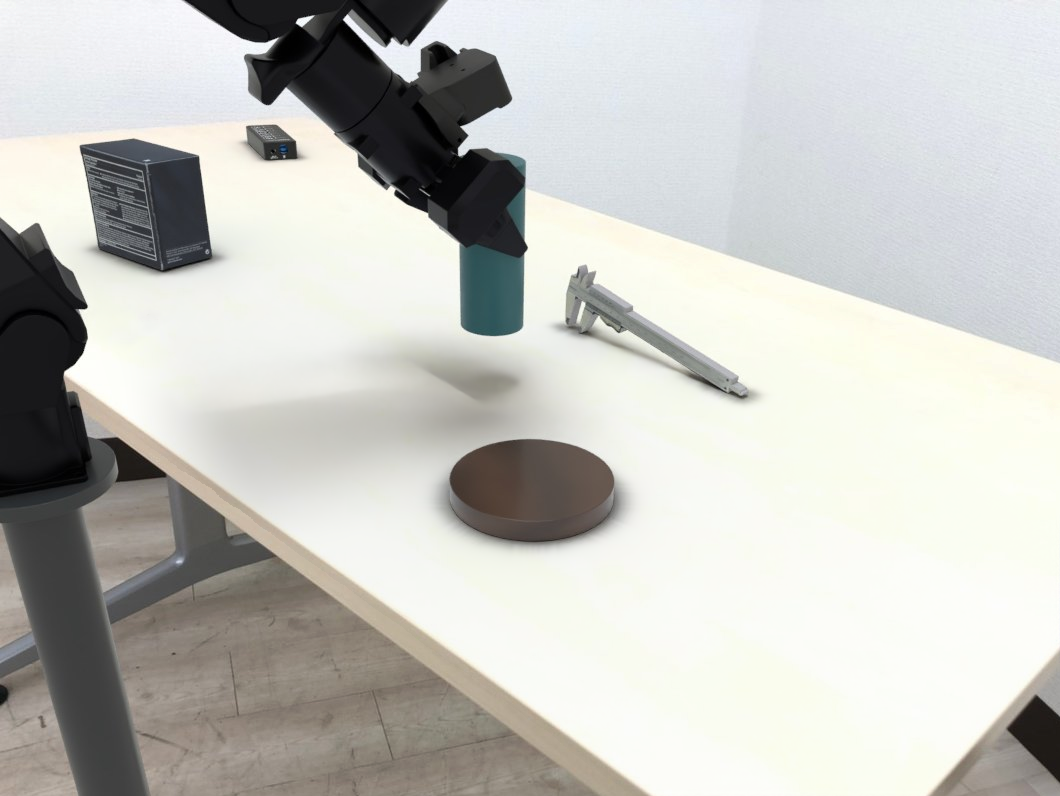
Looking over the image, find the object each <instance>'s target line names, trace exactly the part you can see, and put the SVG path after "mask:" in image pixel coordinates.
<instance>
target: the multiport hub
mask: <svg viewBox="0 0 1060 796" xmlns="http://www.w3.org/2000/svg"><path fill="white" fill-rule="evenodd" d="M245 132H246V139H247V144H248V145H249V146H250V147H252V148H253V150H254V151H256V153H258V154H259V156H261V157H262V158H263V160H265V161H275V160H291V159H292V160H295V159H298V158H299V157H298V148H297V141H296V140H295V139H294V138H293V137H292V136H291V135H289V133H287V132H286V131H285V130H284V129H283V128H281V127H280V126H279V125H278V124H251V125H246V126H245Z"/></svg>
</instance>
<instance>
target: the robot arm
mask: <svg viewBox="0 0 1060 796" xmlns="http://www.w3.org/2000/svg"><path fill="white" fill-rule="evenodd" d="M181 1H182V2H183V3H185V4H186V5H188V6H189V7H190V8H192V9H193V10H195V11H196V12H197V13H199V14H201V15H202V16H203V17H204V18H207V19H208V20H209V21H211V22H213V24H216V25H218V26H219V27H221V28H222V29H224V30H226V31H228V32H229V33H231V34H233V35H234V36H236V37H237V38H239V39H241V40H244V41H247V42H251V43H258V44H267V43H269V42H271V41H274V40H276V41H275V42H274V43H273V44H272V45H271V46H270V48H268V50H267V51H266V52H264V53H263V52H262V53H258V54H257V53H256V54H254V53H246V54H244V55H243V61H244V63H245V65H246V70H247V91H248V94H249V95H251V96H252V97H253V98H255V99H256V100H257V101H258V102H260V103H261V104H262V105H264V106H271V105H272V104H274V102H275V101H276V100H277V99H278V97H280V95H281V94H282V93H283V92H284V91H285V90H286V89H287V90H288V91H289V92H290V93H291V94H292V95H294V97H296V98H297V99H298V100H299V101H300V102H301V103H302V104H303V105H304V106H306V108H307V109H309V111H311V112H312V113H313V114H314V115H315V116H316V117H317V118H318V119H319V120H320V121H322V122H323V123H324V124H325V125H326V126H327V127H328V128H329V129H330V130H331V131H333V132H334V133H333V135H334V136H335V137H336V138H337V139H338V140H339V141H340V142H342V143H343V144H344V145H345V146H346V147H348V148H349V149H351V150H352V151H353V152H355V153H356V154H357V167H358V168H359V169H360V170H361V171H362V172H363V173H364V174H366V175H367V176H368V177H369V178H370V179H371V180H372V181H373V182H374V183H376V185H378V186H380V187H381V188H383V189H384V190H385V191H388V190H389V189H390V187H392V188H393V189H394V192H393V195H394V197H396V198H397V199H398V200H399V201H400V202H402V203H403V204H405V205H406V206H409V207H411V208H414V209H416V210H419V211H421V212H423V213H426V214H427V218H428V219H430V220H431V221H432V222H433V223H434V225H436V226H437V227H438V229H440V230H441V231H442V232H444V233H445V234H446V235H447V236H449V237H450V238H451V239H452V240H454V241H455V242H456V243H458V245H459V244H461V245H462V246H464V247H465V248H468V247H470V246H472V245H475V244H476V245H479V246H483V247H486V248H489V249H492V250H495V251H498V252H501V253H504V254H507V255H510V256H513V257H516V258H521V257H522V256H523V255H524V253H525V254H526V253H527V251H528V250H529V247H528V244H527V242H526V240H525V241H524V239H523V237H522V235H521V233H520V231H519V230H518V228H517V226H516V224H515V222H514V221H513V219H512V217H511V215H510V213H509V211H508V209H507V206H508V205H509V204H510V203H511V201H512V200H513V199H514V198H515V197H516V196H517V194H518V193H519V192H520V191H521V190H522V188H523V187H524V185H525V179H526V180H527V178H525V177H524V176H523V175H522V174H521V172H520V171H519V170H518V169H517V168H516V167H515V166H514V165H513V164H512V163H511V162H510V161H509V160H508V159H506V158H504V157H503V156H501V155H499V154H497V153H498V152H496V153H495V151H493V150H492V149H489V148H487V147H481V148H469V149H468V150H467V152H466V153H465V154H463V155H464V156H463V157H460V156H461V155H459V148H460V147H461V146H462V145H463V143H464V142H465V141H466V140H467V138H468V137H469V134H468V133H467V132H466V130H464V128H462V127H463V126H466V125H469V124H471V123H473V122H475V121H476V120H478V119H479V118H482V117H483V116H485V115H487V114H488V113H490V112H492V111H494V110H496V109H503V108H505V107H507V106H508V105H509V104H510V103H511V102H512V101H513V96H512V93H511V91H510V87H509V86H508V83H507V80H506V78H505V76H504V73H503V70H502V68H501V66H500V63H499V61H498V59H497V56H496V55H495V54H493V53H491V52H487V51H486V50H485V51H484V50H483V49H479V48H473V47H472V48H469V49H468V48H466V47H462V48H460V49H459V51H458V52H459V53H457V52H456V51H454V49H452V47H450V46H449V45H447V44H446V43H443V42H441V41H439V40H435V41H433V42H431V43H429V44H428V45H426V46H423V47H421V48H420V71H419V72H417V73H416V75H417V78H415V79H414V80H410V82H409V81H406V80H405V79H404V78H403V77H402V75H400V74H398V73H396V72H395V71H394V70H392V68H391V67H390V66H389V65H388V64H387V63H386V62H385V61H384V60H383V59H382V58H381V57H380V56H379V55H378V54H377V52H375V50H373V49H372V48H371V47H370V45H368V44H367V42H365V41H364V39H362V37H361V36H359V34H358V33H357V32H356V31H355V30H354V29H353V28H352V27H351V26H350V25H349V24H348V23H347V22H346V21H345V20H344V19H345V18H346V16H348V17H349V18H350V19H351V21H353V22H354V23H355V25H357V27H358V28H359V29H360V30H362V31H363V32H364V33H365V34H366V35H367V36H368V37H370V38H371V39H372V40H373V41H374V42H375V43H377V44H378V45H379V46H381V47H383V48H385V49H386V48H387V47H388V46H389V45H390V44H391V43H392V39H393V40H394V41H395V42H396V43H397V44H398V45H400V46H402V45H403V46H404V47H407V48H408V47H409V48H410V46H411V45H412V43H413V42H414V41H415V40H416V39H417V38H418V37H419V35H420V34H421V33H422V32H423V30H424V29H425V28H426V27H427V26H428V25H429V23H431V21H432V20H433V19H434V18H435V17H436V15H437V14H439V12H440V11H441V9H443V7H444V6H445V5H446V3H447V2H448V1H449V0H181ZM309 17H311V18H310V19H309V20H308V21H307V22H305V24H304V25H299V24H298V23H297V22H298V20H300V19H304V18H309ZM524 256H525V255H524ZM87 309H89V305H88V303H87V300H86V298H85V296H84V294H83V291H82V289H81V286H80V284H79V282H78V280H77V277H76V275H75V273H74V271H72V269H70V268H68V267H67V266H66V265H64V264H63V263H62V262H61V261H60V260H59V259H58V258H57V257H56V255H55V254H54V252H53V251H52V249H51V246H50V244H49V242H48V240H47V238H46V235H45V233H44V231H43V229H42V227H41V224H40V222H35V223H33V224H31V225H30V226H29V227H27V228H26V229H24V230H22V231H21V232H20V233H19V232H18V231H17V230H16V229H15V228H13V227H12V226H11V225H10V224H9V223H7V221H5V219H3V218H2V217H1V216H0V498H1V497H6V496H12V495H17V494H23V493H28V492H34V491H39V490H45V489H51V488H56V487H62V486H67V485H73V484H78V483H83V482H86V481H87V480H89V476H88V472H87V467H86V463H85V462H88V461H90V460H91V459H92V454H91V449H90V445H89V440H88V437H89V435H88V432H87V427H86V422H85V419H84V414H83V409H82V406H81V402H80V398H79V393H78V392H76V391H74V390H70V391H67V385H66V381H65V373H66V371H68V370H69V369H71V368H73V366H75V365H76V364H77V363H78V361H79V360H80V358H81V357H82V356H83V355H84V352H85V349H86V346H87V342H88V340H89V335H88V329H87V327H86V324H85V321H84V319H83V316H82V314H81V311H80V310H87Z"/></svg>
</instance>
